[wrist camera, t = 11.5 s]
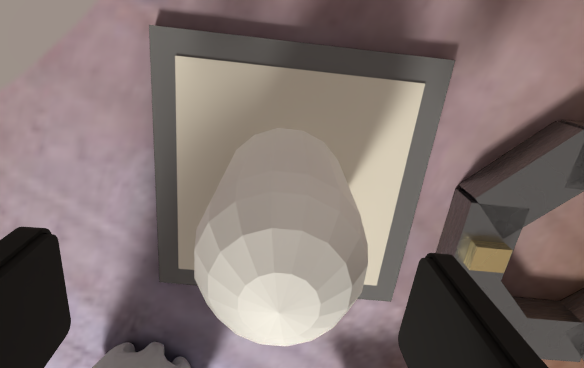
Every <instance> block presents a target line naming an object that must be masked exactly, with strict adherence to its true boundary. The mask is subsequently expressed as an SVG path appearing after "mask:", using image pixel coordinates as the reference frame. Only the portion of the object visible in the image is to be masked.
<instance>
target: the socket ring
mask: <svg viewBox="0 0 584 368" xmlns="http://www.w3.org/2000/svg"><path fill="white" fill-rule="evenodd" d="M459 186H460V187H461V188H462V189H455V193H454V196H453V199H452V202H451V206H450V209H449V212H448V216H447V219H446V222H445V225H444V229H443V232H442V235H441V238H440V242H439V245H438V248H437V252H436V253H439V254H451V255H452V256H454V257H455V258H456V260H457V261H458V262H459V263H460V264H461V266H462V267H463V268H464V269H465V270H466V271H467V273H468V274H469V275H470V276H471V277H472V279H473V280H474V281H475V282H476V283H477V284H478V286H479V287H480V288H481V289H482V290H483V291H484V293H485V294H486V295H487V296H488V297H489V299H490V300H491V301H492V302H493V303H494V304H495V306H496V307H497V308H498V309H499V310H500V311H501V313H502V314H503V315H504V316H505V317H506V319H507V320H508V321H509V322H510V323H511V324H512V326H513V327H514V328H515V329H516V330H517V331H518V333H519V334H520V335H521V336H522V337H523V339H524V340H525V341H526V342H527V343H528V344H529V346H530V347H531V348H532V349H533V350H534V352H535V353H536V354H537V355H538V356H539V357H540V359H548V360H560V361H573V362H580V360H581V358H582V359H583V360H584V289H582V290H580V291H578V292H576V293H574V294H572V295H571V296H569V297H567V298H565V299H563V300H561V301H554V300H542V299H530V298H519V297H512V296H511V295H510V293H509V292H508V290H507V289H506V288H505V286H504V285H503V283H502V282H501V280H502V277H503V275H504V272H505V270H506V267H507V265H508V262H509V260H510V257H511V255H512V252H513V250H514V247H515V245H516V242H517V240H518V237H519V235H520V232H521V230H522V228H523V227H524V226H526V225H528V224H529V223H531V222H533V221H534V220H536V219H538V218H540V217H541V216H543V215H545V214H546V213H548V212H550V211H551V210H553V209H555V208H556V207H558V206H560V205H561V204H563V203H565V202H566V201H568V200H570V199H571V198H573V197H575V196H576V195H578V194H580V193H582V192H583V191H584V122H579V121H570V120H561V122H557V121H555V122H554V123H552V124H551V125H549V126H548V127H546V128H544V129H543V130H541V131H540V132H538V133H537V134H535V135H534V136H532V137H531V138H529V139H528V140H526V141H525V142H523V143H522V144H520V145H519V146H517V147H515V148H514V149H512V150H511V151H509V152H508V153H506V154H505V155H503V156H502V157H500V158H499V159H497V160H496V161H494V162H493V163H491V164H490V165H488V166H486V167H485V168H483V169H482V170H480V171H479V172H477V173H476V174H474V175H473V176H471V177H470V178H468V179H467V180H465V181H464V182H462V183H461V184H459Z"/></svg>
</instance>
